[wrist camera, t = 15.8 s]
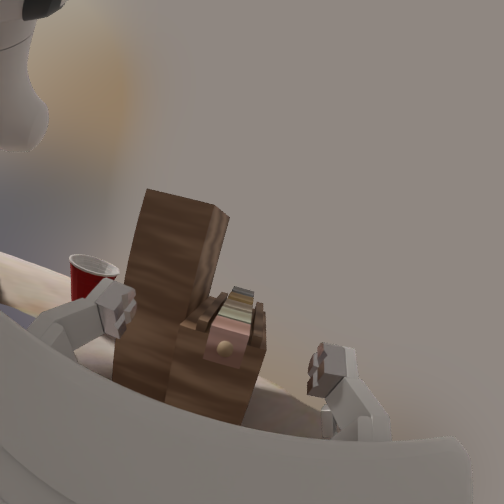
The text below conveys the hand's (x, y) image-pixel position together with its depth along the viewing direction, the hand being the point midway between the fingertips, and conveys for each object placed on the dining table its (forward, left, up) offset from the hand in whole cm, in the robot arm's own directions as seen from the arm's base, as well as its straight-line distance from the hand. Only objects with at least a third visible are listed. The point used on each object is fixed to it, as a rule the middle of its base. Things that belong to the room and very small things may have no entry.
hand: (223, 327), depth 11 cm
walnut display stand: (-19, +13, -20) cm, 30 cm away
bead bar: (-13, +13, -6) cm, 20 cm away
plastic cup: (-44, +3, -20) cm, 48 cm away
